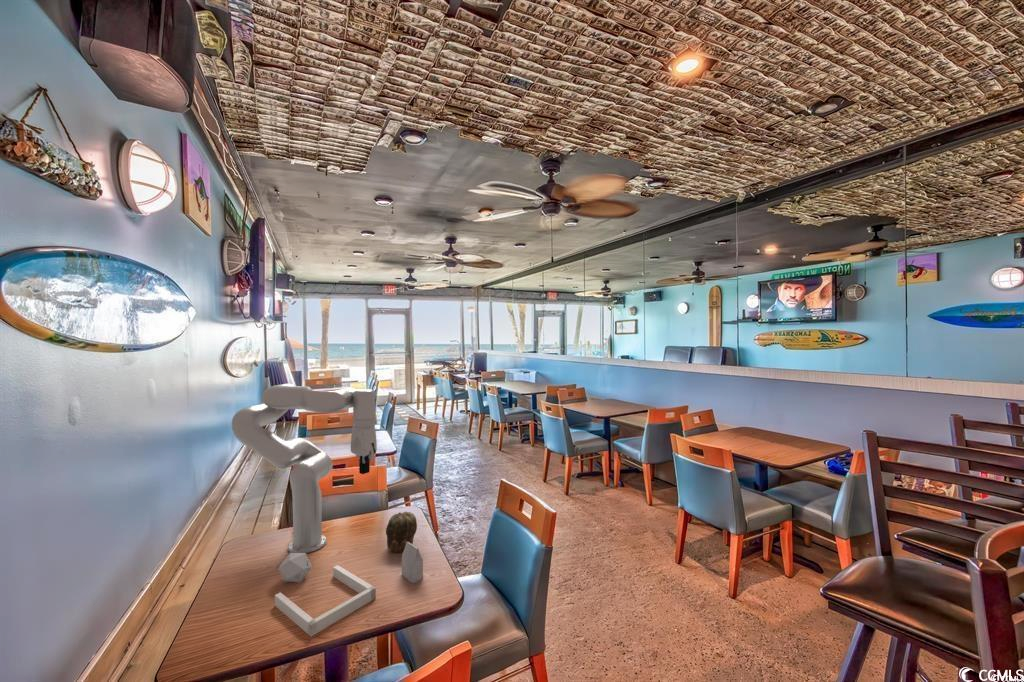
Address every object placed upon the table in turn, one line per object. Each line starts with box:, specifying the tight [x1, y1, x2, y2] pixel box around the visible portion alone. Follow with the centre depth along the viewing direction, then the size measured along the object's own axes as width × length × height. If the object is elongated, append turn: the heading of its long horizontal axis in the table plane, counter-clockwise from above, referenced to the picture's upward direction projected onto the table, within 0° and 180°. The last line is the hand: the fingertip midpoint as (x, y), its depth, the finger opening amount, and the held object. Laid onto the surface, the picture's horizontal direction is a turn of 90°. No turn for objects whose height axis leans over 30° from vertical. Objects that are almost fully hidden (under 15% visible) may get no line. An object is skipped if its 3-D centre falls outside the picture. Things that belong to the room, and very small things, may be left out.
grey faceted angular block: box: [401, 541, 424, 584], centre depth 129 cm, size 4×7×10 cm, turn 44°
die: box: [277, 552, 313, 583], centre depth 127 cm, size 8×9×10 cm
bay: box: [274, 564, 377, 637], centre depth 116 cm, size 20×19×3 cm
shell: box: [385, 511, 418, 554], centre depth 147 cm, size 11×11×12 cm
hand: (364, 472), depth 147 cm, fingers closed
